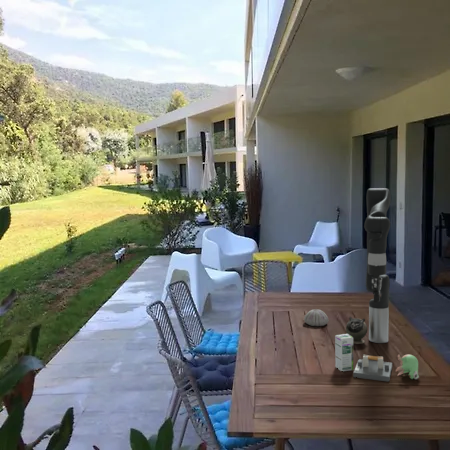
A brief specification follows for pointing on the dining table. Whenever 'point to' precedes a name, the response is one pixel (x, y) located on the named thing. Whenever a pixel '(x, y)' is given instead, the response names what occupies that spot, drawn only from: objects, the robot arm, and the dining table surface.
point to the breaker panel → (373, 370)
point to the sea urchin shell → (316, 318)
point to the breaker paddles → (380, 359)
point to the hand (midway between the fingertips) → (376, 302)
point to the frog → (408, 366)
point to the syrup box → (344, 352)
